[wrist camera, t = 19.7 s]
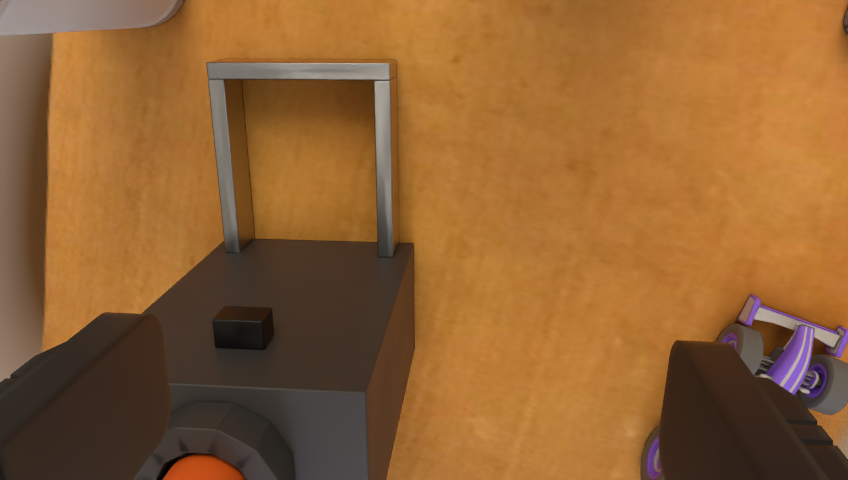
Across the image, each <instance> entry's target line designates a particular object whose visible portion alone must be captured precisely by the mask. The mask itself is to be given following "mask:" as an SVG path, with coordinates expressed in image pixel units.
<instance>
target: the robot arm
mask: <svg viewBox="0 0 848 480" xmlns="http://www.w3.org/2000/svg"><path fill="white" fill-rule="evenodd" d="M170 413H171V398H170V391H169V383H168V375H167V367H166V360H165V352H164V344H163V336H162V330H161V326H160V323H159V321H158V319H157V318H156V317H155V316H154V315H151V314H130V313H109V312H106V313H103V314H101V315H99V316H98V317H97V318H96V319H94V320H93V321H92V322H91V323H89V324H88V325H87V326H86V327H84V328H83V329H82V330H80V331H79V332H78V333H77V334H75V335H74V336H73V337H72V338H70V339H69V340H68V341H67V342H64V343H62V344H60V345H58V346H56V347H54V348H51V349H49V350H47V351H45V352H43V353H40V354H38V355H36V356H34V357H33V358H32V359H30V360H29V361H28V362H27V363H25V364H24V365H23V366H21V367H20V368H19V369H17V370H16V371H15V372H14V373H12V374H11V377H10V379H4V380H3V381H2V382H0V480H132V479H133V478H134V477H135V475H136V474H137V473H138V471H139V470H140V469H141V467H142V466H143V465H144V463H145V462H146V461H147V459H148V458H149V457H150V455H151V454H152V453H153V452H154V450H155V449H156V448H157V446H158V445H159V444H160V442H161V441H162V439H163V437H164V435H165V433H166V430H167V427H168V424H169V420H170ZM659 457H660V464H661V469H662V473H663V476H664V478H665V480H848V459H847V458H846V457H845V455H844V454H843V453H842V452H841V450H840V449H839V448H838V447H837V446H833V440H832V439H831V438H830V437H829V435H828V434H827V433H826V432H825V430H824V429H823V428H822V427H821V426H818V425H817V420H816V419H815V418H814V416H813V415H812V414H811V413H810V411H809V410H808V409H807V408H806V406H805V405H804V404H803V403H802V401H801V400H800V399H799V398H798V397H797V396H795V395H794V394H792V393H791V392H789V391H787V390H786V389H784V388H783V387H781V386H780V385H778V384H777V383H775V382H774V381H772V380H771V379H769V378H764V377H755V376H754V375H753V374H752V372H751V371H750V369H749V368H748V367H747V365H746V364H745V363H744V361H743V360H742V358H741V357H740V356H739V354H738V353H737V352H736V350H735V349H734V347H733V346H732V345H731V344H729V343H722V342H701V341H679V340H677V341H675V343H674V344H673V346H672V349H671V352H670V357H669V364H668V371H667V379H666V386H665V393H664V400H663V407H662V414H661V421H660V429H659Z"/></svg>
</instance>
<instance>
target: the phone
mask: <svg viewBox="0 0 848 480" xmlns="http://www.w3.org/2000/svg"><path fill="white" fill-rule="evenodd" d="M844 28H845V30H846V33H847V34H848V10H847V12H846V15H845V19H844Z"/></svg>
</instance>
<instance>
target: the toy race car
mask: <svg viewBox="0 0 848 480" xmlns="http://www.w3.org/2000/svg"><path fill="white" fill-rule="evenodd" d="M760 302H761V300H760V299H759V298H758V297H756V296H754V295H750V297H749V298H748V300H747V302H746V304H745V306H744V308H743V310H742V311H741V313H740V315H739V317H738V321H740V322H742V323H743V324H745V325H748V326H751V324H752V322H753V319H755V320H761V321H766V322H771V323H775V324H778V325H780V326H783V327H786V328H789V329H792V330H794V331H795V332H794V334H793V335H792V337H791V338H790V340H789V341H788V342H787V344H786V345H785V346H779V347H776V348H775V350H774V351H773V352H772V353H771V354H770V355H769V357H767V356H764V355H763V352H764V342H763V338H762V335H761V334H760V333H759V332H758V331H756V330H754V329H751V328H748V327H745V326H743V325H740V324H736V323H734V324H730V325H729V326H727V327H726V328H725V329H724V330H723V331H722V332H721V334H720V335H719V337H718V339H717V341H716V342H722V343H729V344H731V345H732V346H733V347H734V349H735V350H736V352H737V353H738V354H739V356H740V357H741V358H742V360H743V361H744V363H745V364H746V365H747V367H748V368H749V369H750V371H751V372H752V374H753V375H754V376H755V377H764V378H769V379H771V380H772V381H774V382H775V383H777V384H778V385H780V386H781V387H783V388H784V389H786V390H787V391H789V392H791V393H792V394H794V395H795V396H797V397H798V398H799V399H800V400H801V401H802V403H803V404H804V405H805V406H806V408H809V409H812V410H814V411H817V412H820V413H823V414H827V415H832V414H835V413H837V412H839V411H841V410H842V409H843V408H844V407H845V406H846V404H847V403H848V364H847V363H846V362H844V361H841V360H838V359H836V358H833V357H830V356H827V355H824V354H818V355H815V356H813V357H811V354H812V348H813V340H814V338H817V339H819V340H820V341H821V342H823V343H824V344H825V345H827V347H826V349H825V351H826V352H828V353H829V354H831V355H833V356H835V357H838V358H840V357H841V356H842V353H843V351H844V349H845V346H846V344H847V341H848V330H847V329H846V328H844V327H841V326H839V327H838V329H837V330H836V331H833V330H830V329H827V328H825V327H822V326H819V325H816V324H813V323H811V322H808V321H805V320H802V319H799V318H797V317H794V316H791V315H788V314H785V313H783V312H780V311H777V310H774V309H771V308H768V307H766V306H763V305H760ZM762 360H765V362H763V361H762ZM760 363H762V365H761V364H760ZM759 366H760V367H759ZM757 370H758V371H759V372H757ZM659 429H660V425H659V426H657V427H656V428H655V429H654V431H653V432H652V433H651V435H650V437H649V438H648V440H647V443H646V445H645V448H644V451H643V455H642V460H641V480H665V478H664V476H663V473H662V469H661V464H660V457H659Z"/></svg>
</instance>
